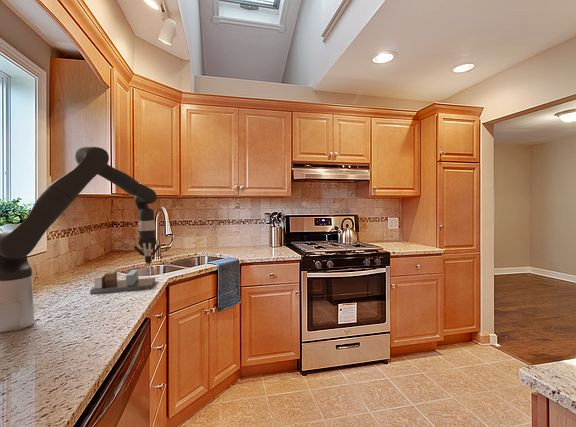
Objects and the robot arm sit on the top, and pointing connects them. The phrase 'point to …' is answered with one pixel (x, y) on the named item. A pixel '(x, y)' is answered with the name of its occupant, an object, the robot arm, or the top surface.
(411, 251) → the top surface
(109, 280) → the walnut block
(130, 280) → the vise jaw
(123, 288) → the plate
